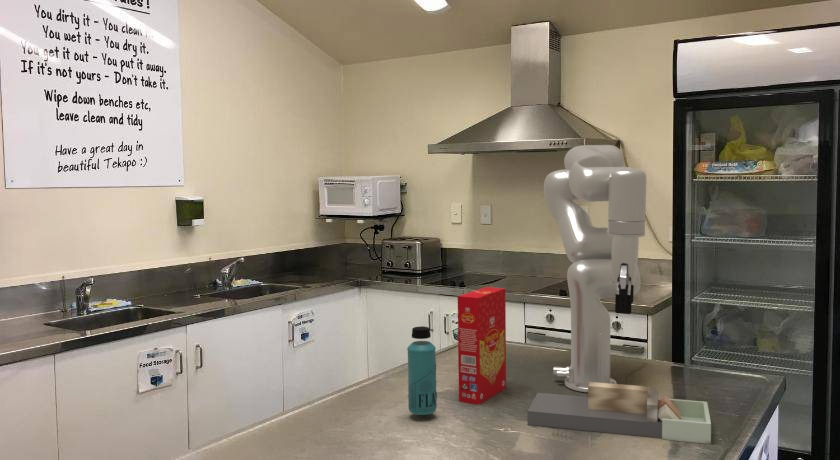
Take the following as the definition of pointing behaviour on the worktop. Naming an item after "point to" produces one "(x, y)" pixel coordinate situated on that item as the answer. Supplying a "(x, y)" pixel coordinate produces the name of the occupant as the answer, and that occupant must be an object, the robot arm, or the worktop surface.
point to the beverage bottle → (421, 373)
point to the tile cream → (666, 413)
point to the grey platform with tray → (621, 419)
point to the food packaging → (481, 344)
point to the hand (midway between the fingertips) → (624, 307)
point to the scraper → (624, 399)
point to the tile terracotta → (669, 405)
